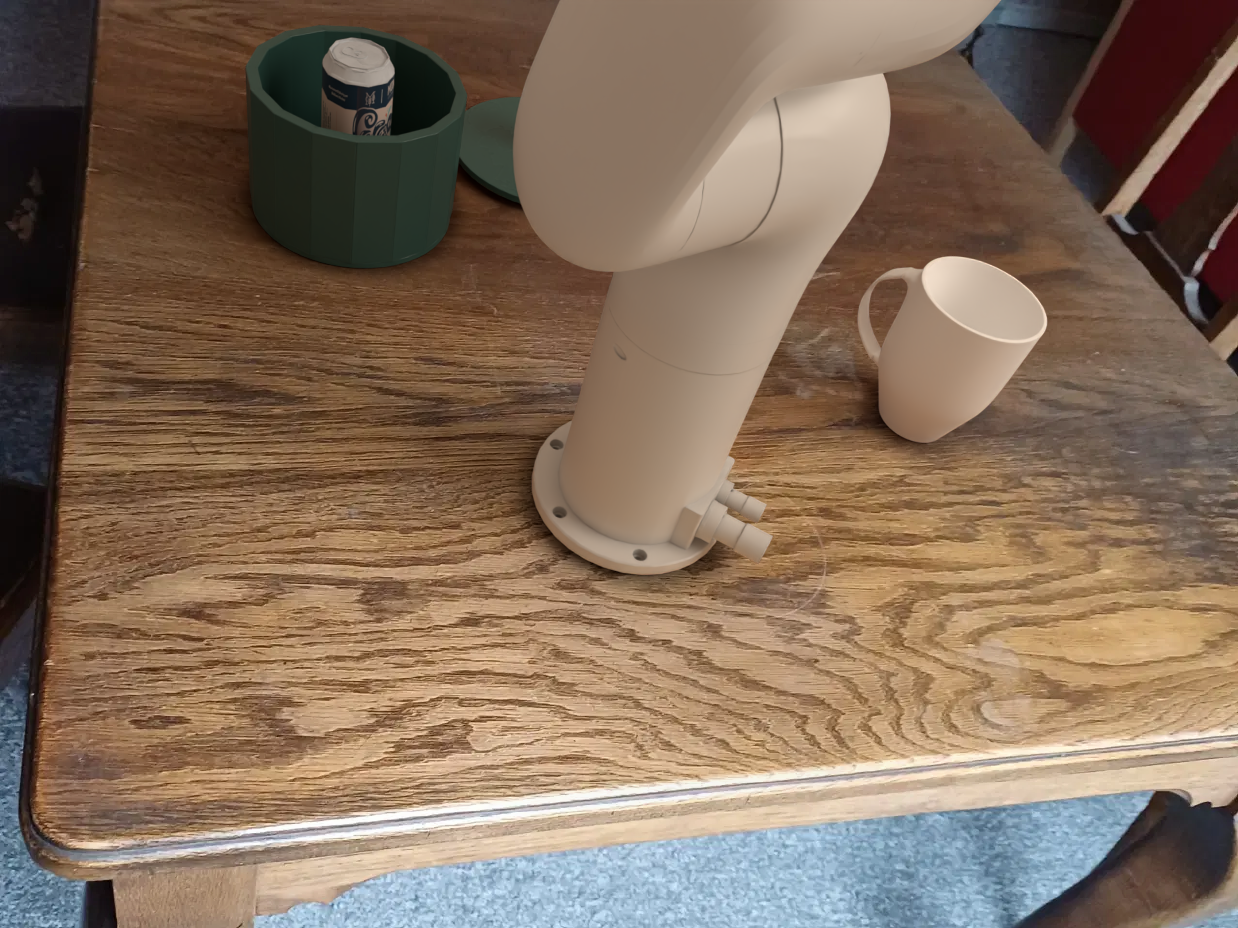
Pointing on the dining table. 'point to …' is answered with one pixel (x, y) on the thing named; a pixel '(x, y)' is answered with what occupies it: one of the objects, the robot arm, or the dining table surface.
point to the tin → (352, 153)
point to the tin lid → (491, 145)
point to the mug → (950, 344)
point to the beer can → (357, 88)
